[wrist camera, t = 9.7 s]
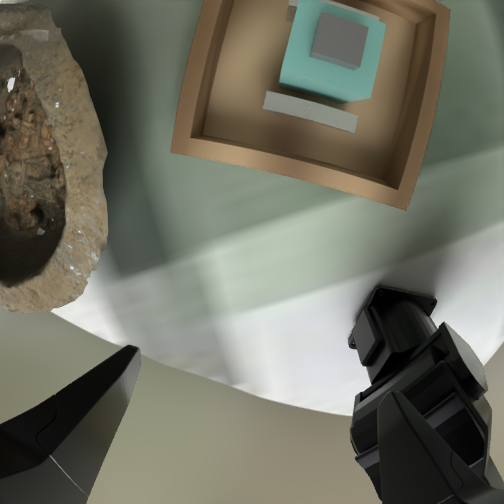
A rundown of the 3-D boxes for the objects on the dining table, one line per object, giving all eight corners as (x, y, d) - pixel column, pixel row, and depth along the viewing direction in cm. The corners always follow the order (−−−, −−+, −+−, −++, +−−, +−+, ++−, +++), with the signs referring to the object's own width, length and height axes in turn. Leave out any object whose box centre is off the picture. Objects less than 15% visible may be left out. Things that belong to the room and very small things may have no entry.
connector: (353, 49, 15) (394, 18, 8) (340, 104, 16) (377, 96, 10) (292, 31, 14) (301, -13, 8) (278, 86, 16) (281, 67, 10)
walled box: (426, 21, 13) (450, 9, 10) (387, 195, 19) (406, 211, 16) (231, -34, 13) (224, -58, 9) (187, 146, 19) (170, 152, 15)
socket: (365, 30, 14) (379, 17, 11) (342, 130, 17) (354, 133, 14) (289, 8, 14) (291, -9, 11) (264, 110, 17) (262, 108, 14)
